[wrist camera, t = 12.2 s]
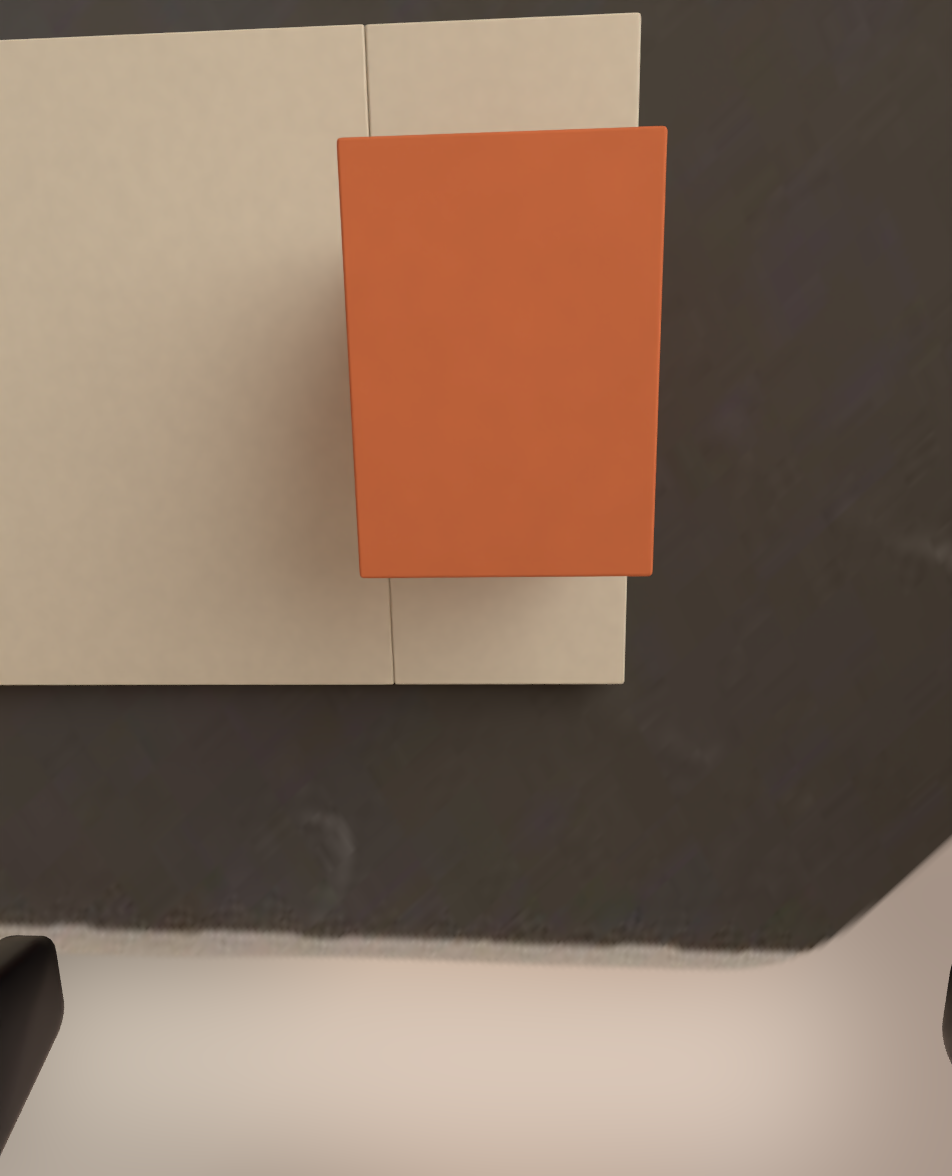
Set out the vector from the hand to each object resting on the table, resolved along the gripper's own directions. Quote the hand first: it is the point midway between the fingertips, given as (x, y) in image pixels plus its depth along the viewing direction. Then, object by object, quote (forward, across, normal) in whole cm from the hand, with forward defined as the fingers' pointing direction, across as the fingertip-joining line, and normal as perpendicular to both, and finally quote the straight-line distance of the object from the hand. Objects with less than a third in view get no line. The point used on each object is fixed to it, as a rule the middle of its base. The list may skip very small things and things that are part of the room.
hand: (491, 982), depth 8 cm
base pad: (+12, +6, -6) cm, 15 cm away
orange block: (+12, 0, -6) cm, 13 cm away
